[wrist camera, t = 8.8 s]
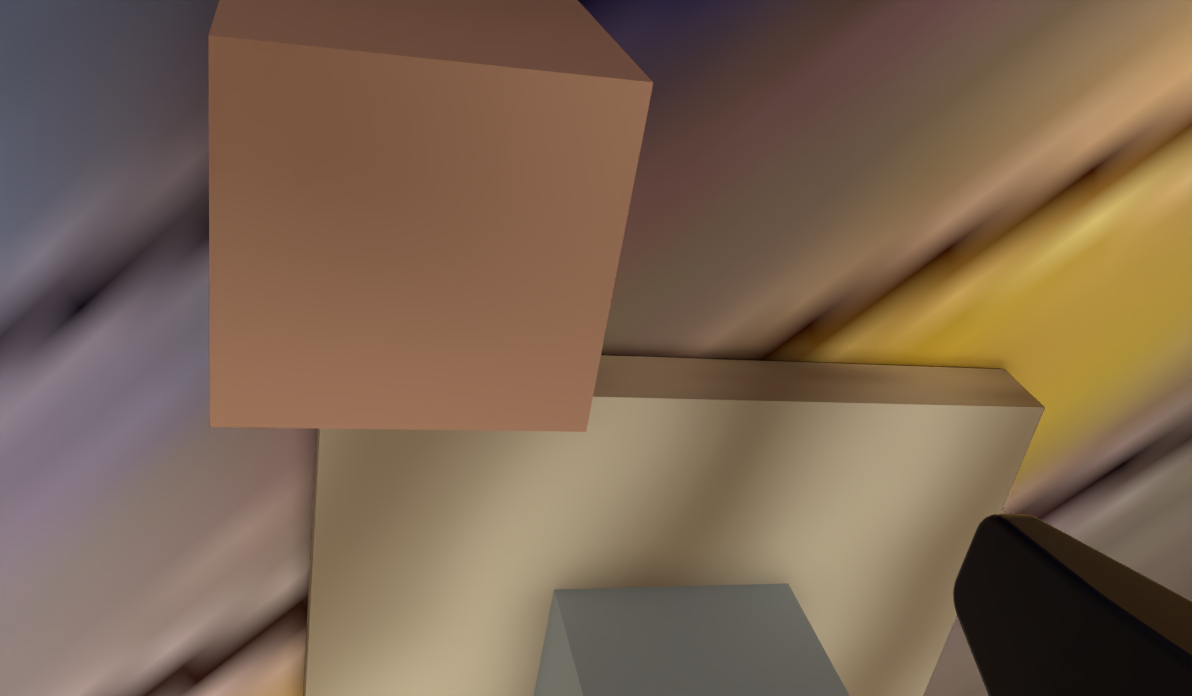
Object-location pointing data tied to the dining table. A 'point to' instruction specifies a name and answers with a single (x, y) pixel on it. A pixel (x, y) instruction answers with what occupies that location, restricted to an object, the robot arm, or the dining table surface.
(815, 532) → the birch base
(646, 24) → the dining table surface
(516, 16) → the terracotta block
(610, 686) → the gray block
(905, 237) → the dining table surface
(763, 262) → the dining table surface
